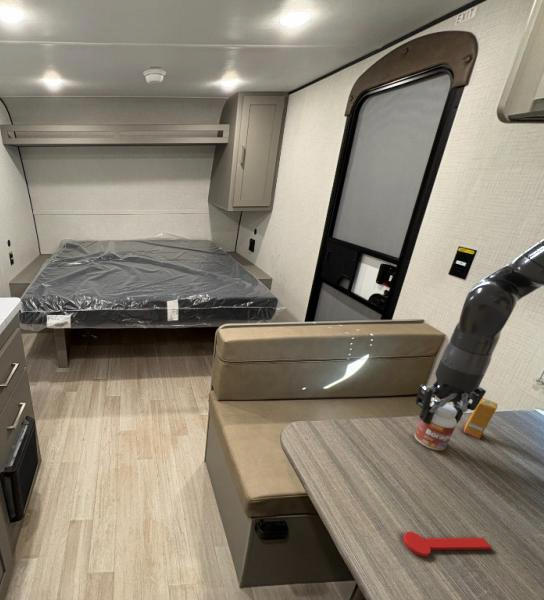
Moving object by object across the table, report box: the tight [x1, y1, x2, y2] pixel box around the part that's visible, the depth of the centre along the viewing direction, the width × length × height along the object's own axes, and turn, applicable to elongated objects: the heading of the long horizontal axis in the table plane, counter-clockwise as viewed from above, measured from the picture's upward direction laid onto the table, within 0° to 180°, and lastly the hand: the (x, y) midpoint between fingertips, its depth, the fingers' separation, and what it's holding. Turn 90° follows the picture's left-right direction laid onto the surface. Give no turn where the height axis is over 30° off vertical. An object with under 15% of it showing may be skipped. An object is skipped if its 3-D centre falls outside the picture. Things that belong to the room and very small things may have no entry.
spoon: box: [402, 531, 492, 558], centre depth 58 cm, size 15×4×1 cm, turn 90°
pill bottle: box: [414, 402, 458, 451], centre depth 79 cm, size 6×6×11 cm
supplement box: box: [463, 397, 498, 439], centre depth 82 cm, size 3×3×10 cm
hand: (438, 421), depth 79 cm, fingers closed on pill bottle, 6 cm apart
